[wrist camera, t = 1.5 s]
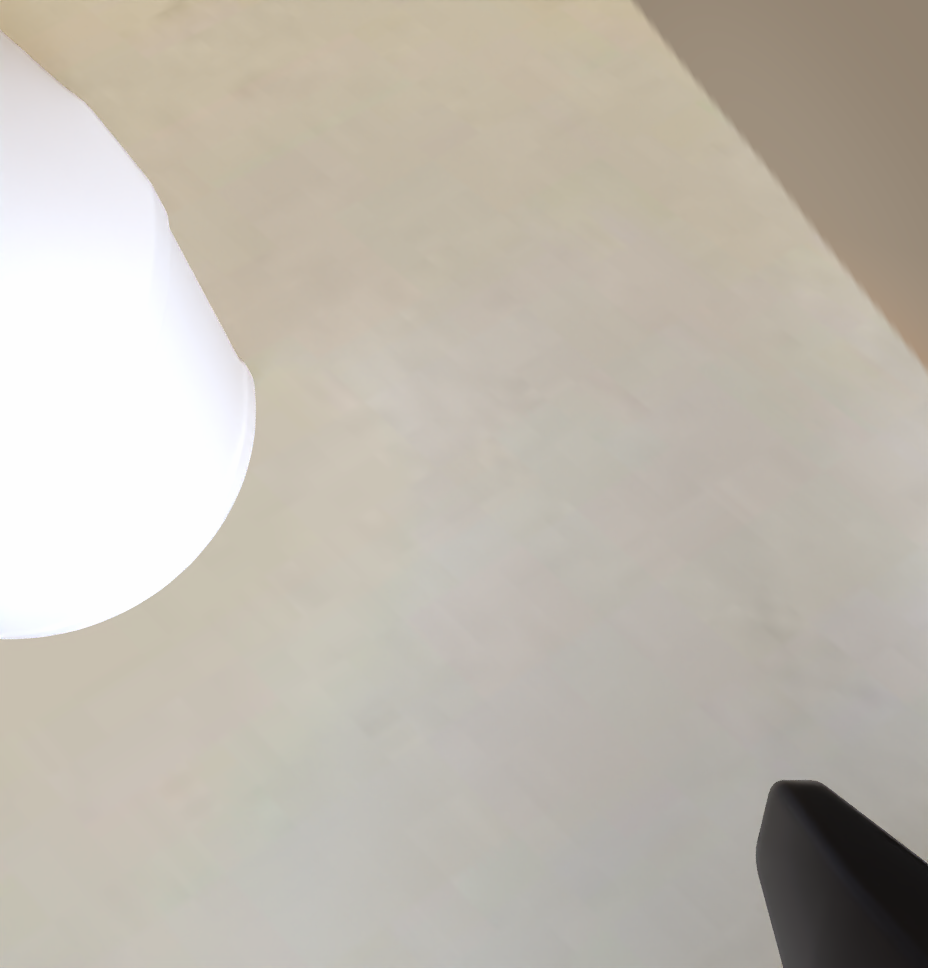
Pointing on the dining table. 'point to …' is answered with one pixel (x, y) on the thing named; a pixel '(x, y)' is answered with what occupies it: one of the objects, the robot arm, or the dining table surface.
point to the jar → (100, 373)
